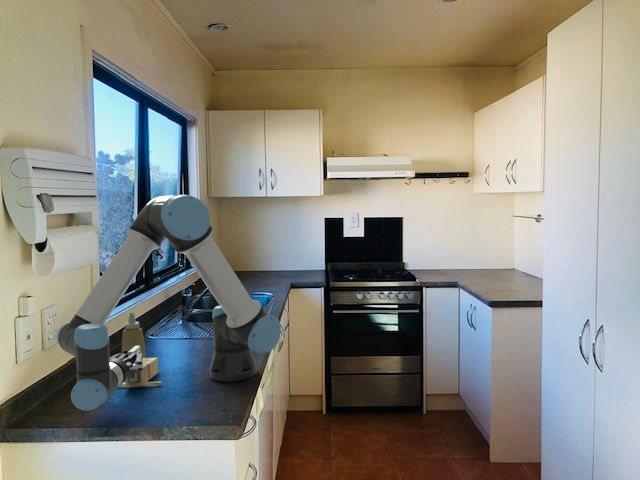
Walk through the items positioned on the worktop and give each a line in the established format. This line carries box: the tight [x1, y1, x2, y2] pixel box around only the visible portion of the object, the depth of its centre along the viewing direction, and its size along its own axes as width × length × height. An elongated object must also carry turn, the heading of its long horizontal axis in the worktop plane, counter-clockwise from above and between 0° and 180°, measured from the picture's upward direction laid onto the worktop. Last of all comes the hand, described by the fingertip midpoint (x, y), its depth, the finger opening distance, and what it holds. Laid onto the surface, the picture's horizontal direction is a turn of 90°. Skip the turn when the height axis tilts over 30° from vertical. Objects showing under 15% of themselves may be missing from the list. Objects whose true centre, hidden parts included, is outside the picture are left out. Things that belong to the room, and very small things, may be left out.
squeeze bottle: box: [121, 312, 147, 358], centre depth 182 cm, size 8×8×18 cm
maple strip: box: [117, 381, 163, 389], centre depth 159 cm, size 14×1×1 cm, turn 92°
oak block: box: [125, 357, 159, 386], centre depth 164 cm, size 5×5×16 cm
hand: (137, 350), depth 160 cm, fingers closed
